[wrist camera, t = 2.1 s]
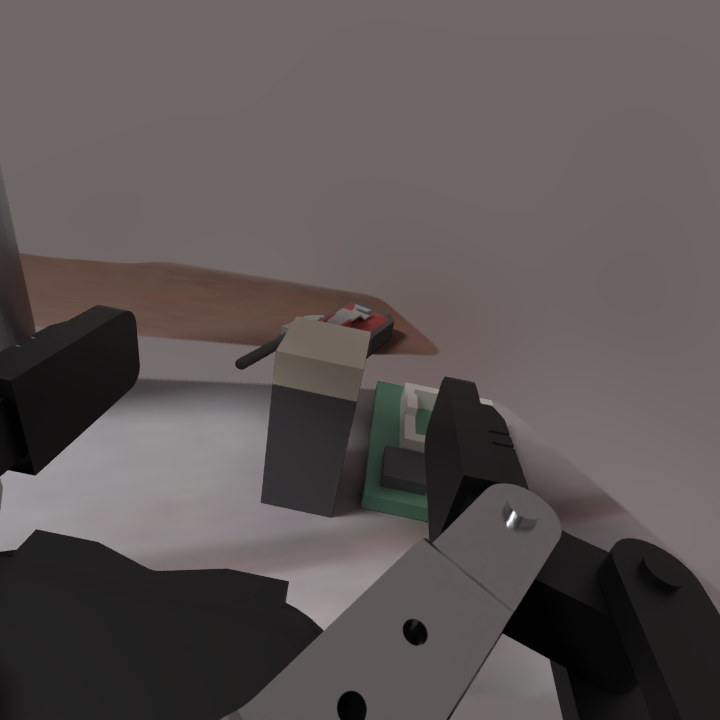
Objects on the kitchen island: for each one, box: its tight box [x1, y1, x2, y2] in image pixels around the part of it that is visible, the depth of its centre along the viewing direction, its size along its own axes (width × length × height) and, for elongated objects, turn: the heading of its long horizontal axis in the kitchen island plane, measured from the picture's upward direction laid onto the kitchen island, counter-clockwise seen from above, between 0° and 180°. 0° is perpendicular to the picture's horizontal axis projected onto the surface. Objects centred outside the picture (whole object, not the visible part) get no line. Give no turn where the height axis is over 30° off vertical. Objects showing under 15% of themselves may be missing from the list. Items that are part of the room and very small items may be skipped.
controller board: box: [361, 381, 493, 522], centre depth 33 cm, size 10×14×4 cm
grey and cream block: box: [261, 316, 371, 517], centre depth 26 cm, size 4×4×11 cm
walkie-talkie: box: [235, 302, 394, 370], centre depth 44 cm, size 9×4×20 cm
